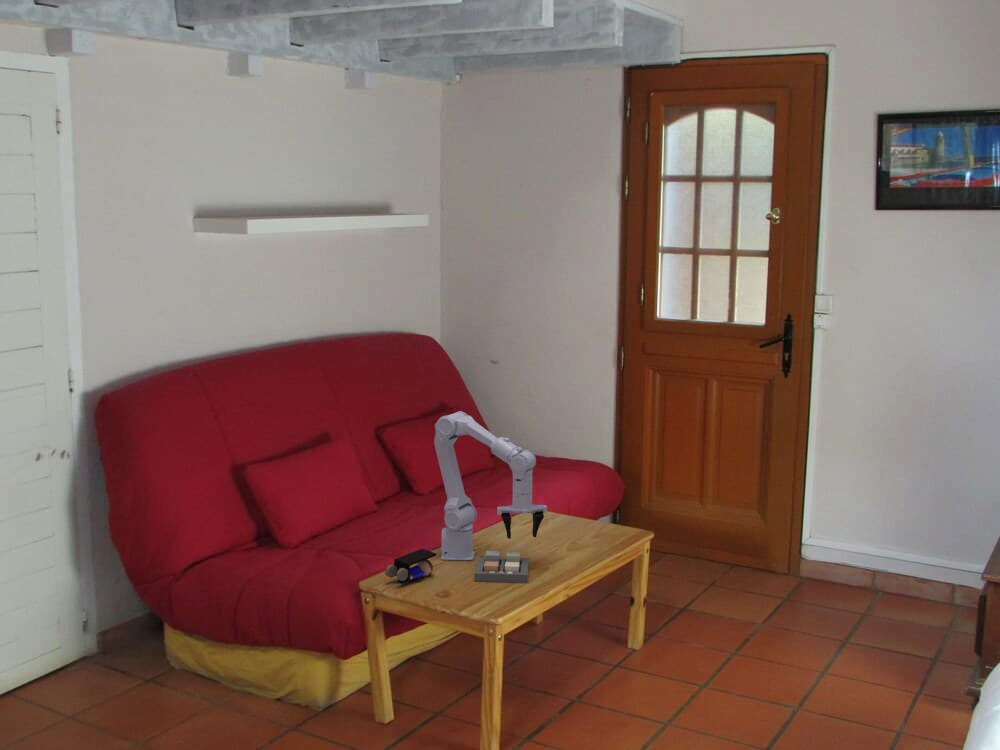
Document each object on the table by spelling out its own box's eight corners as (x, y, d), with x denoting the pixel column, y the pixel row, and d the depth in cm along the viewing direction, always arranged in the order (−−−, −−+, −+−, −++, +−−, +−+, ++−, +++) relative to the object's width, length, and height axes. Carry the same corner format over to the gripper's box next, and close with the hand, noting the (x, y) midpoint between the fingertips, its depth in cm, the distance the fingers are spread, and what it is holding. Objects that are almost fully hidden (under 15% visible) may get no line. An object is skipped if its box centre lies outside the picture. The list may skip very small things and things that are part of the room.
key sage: (505, 566, 335) (506, 555, 334) (506, 561, 338) (506, 551, 338) (519, 566, 334) (519, 556, 334) (520, 562, 338) (520, 551, 338)
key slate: (485, 565, 335) (485, 555, 334) (486, 561, 339) (486, 550, 338) (499, 566, 335) (499, 555, 334) (499, 561, 339) (499, 551, 338)
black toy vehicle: (402, 593, 321) (439, 575, 332) (399, 568, 319) (437, 550, 330) (385, 588, 325) (422, 569, 336) (383, 563, 323) (420, 545, 334)
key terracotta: (483, 572, 329) (483, 565, 329) (484, 567, 333) (484, 561, 333) (497, 572, 329) (497, 566, 328) (498, 568, 333) (498, 561, 332)
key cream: (504, 573, 329) (504, 566, 328) (505, 568, 333) (505, 561, 332) (518, 573, 328) (518, 566, 328) (519, 568, 332) (519, 562, 332)
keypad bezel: (474, 581, 327) (474, 572, 327) (478, 564, 342) (478, 556, 341) (527, 583, 326) (527, 574, 326) (528, 565, 341) (528, 557, 340)
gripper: (500, 496, 330) (499, 542, 332) (549, 494, 333) (548, 540, 335) (496, 490, 337) (495, 535, 339) (544, 488, 340) (543, 532, 342)
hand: (521, 537), depth 337 cm, fingers open, 7 cm apart
